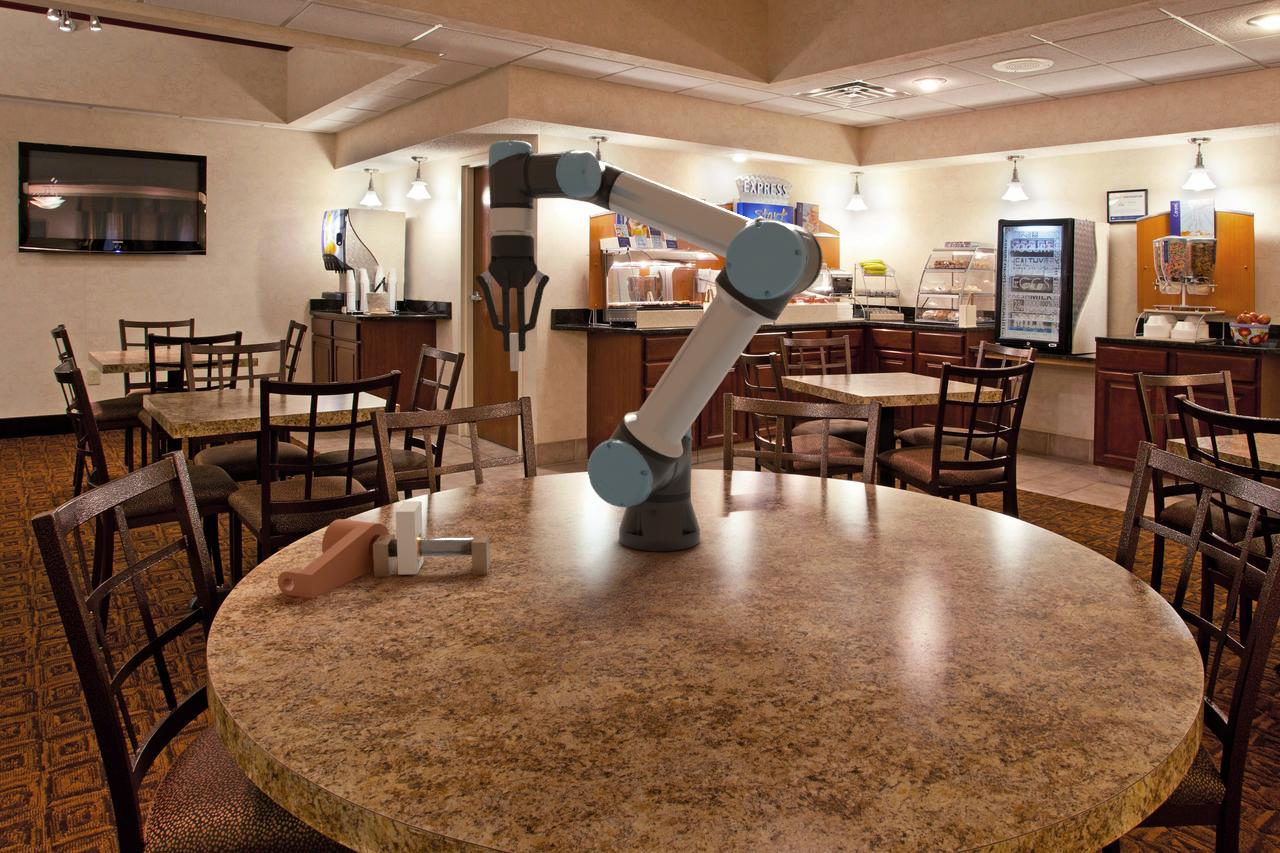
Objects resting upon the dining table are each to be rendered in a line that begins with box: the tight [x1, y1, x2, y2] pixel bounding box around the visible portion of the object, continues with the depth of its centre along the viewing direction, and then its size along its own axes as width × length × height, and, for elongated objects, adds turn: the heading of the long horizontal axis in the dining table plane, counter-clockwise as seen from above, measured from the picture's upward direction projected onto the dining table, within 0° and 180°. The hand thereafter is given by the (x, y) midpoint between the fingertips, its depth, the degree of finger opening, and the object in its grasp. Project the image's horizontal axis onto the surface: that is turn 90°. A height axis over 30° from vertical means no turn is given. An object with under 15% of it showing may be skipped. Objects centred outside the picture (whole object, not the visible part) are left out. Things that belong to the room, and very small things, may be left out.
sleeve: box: [395, 500, 425, 575], centre depth 156 cm, size 3×7×11 cm, turn 4°
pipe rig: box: [373, 532, 491, 578], centre depth 156 cm, size 18×6×6 cm, turn 94°
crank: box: [277, 518, 390, 599], centre depth 153 cm, size 20×8×8 cm, turn 159°
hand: (515, 370), depth 165 cm, fingers closed
